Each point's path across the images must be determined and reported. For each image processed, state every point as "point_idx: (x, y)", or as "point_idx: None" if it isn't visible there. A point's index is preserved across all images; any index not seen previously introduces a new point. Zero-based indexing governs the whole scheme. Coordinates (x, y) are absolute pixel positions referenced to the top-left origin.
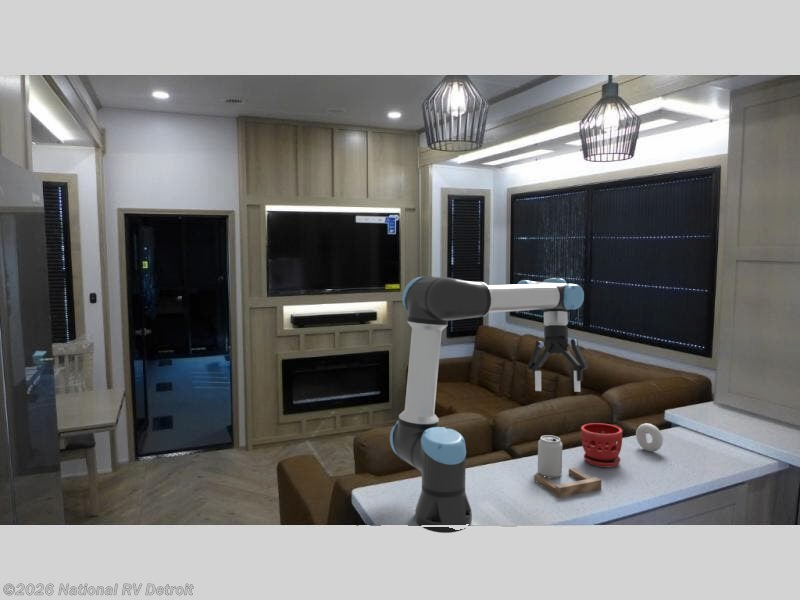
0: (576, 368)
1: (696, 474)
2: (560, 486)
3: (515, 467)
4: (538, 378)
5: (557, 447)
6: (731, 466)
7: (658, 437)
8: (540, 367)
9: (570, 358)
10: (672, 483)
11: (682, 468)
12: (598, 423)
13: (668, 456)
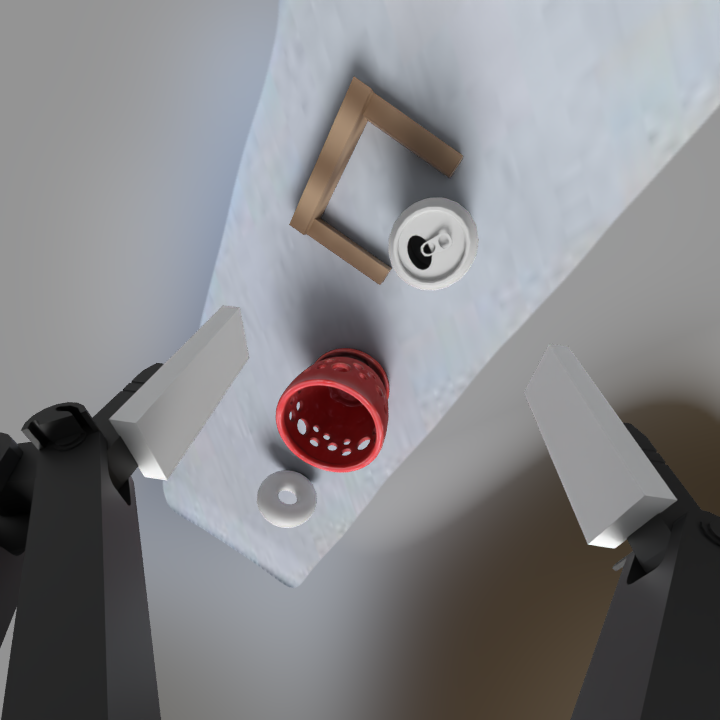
0: (86, 442)
1: None
2: (355, 91)
3: (548, 222)
4: (581, 438)
5: (396, 221)
6: (186, 459)
7: (261, 488)
8: (617, 590)
9: (45, 610)
10: None
11: (230, 420)
12: (350, 468)
13: (266, 463)
